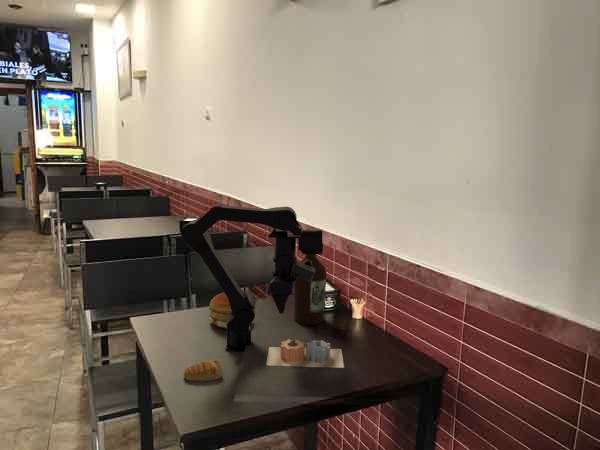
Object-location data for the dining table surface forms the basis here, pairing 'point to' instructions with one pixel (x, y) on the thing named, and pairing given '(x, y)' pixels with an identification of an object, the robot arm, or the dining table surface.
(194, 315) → the dining table surface
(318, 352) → the gear
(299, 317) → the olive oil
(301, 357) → the gear
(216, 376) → the pastry
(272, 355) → the gear board
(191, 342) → the dining table surface
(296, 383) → the dining table surface
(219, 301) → the burger
